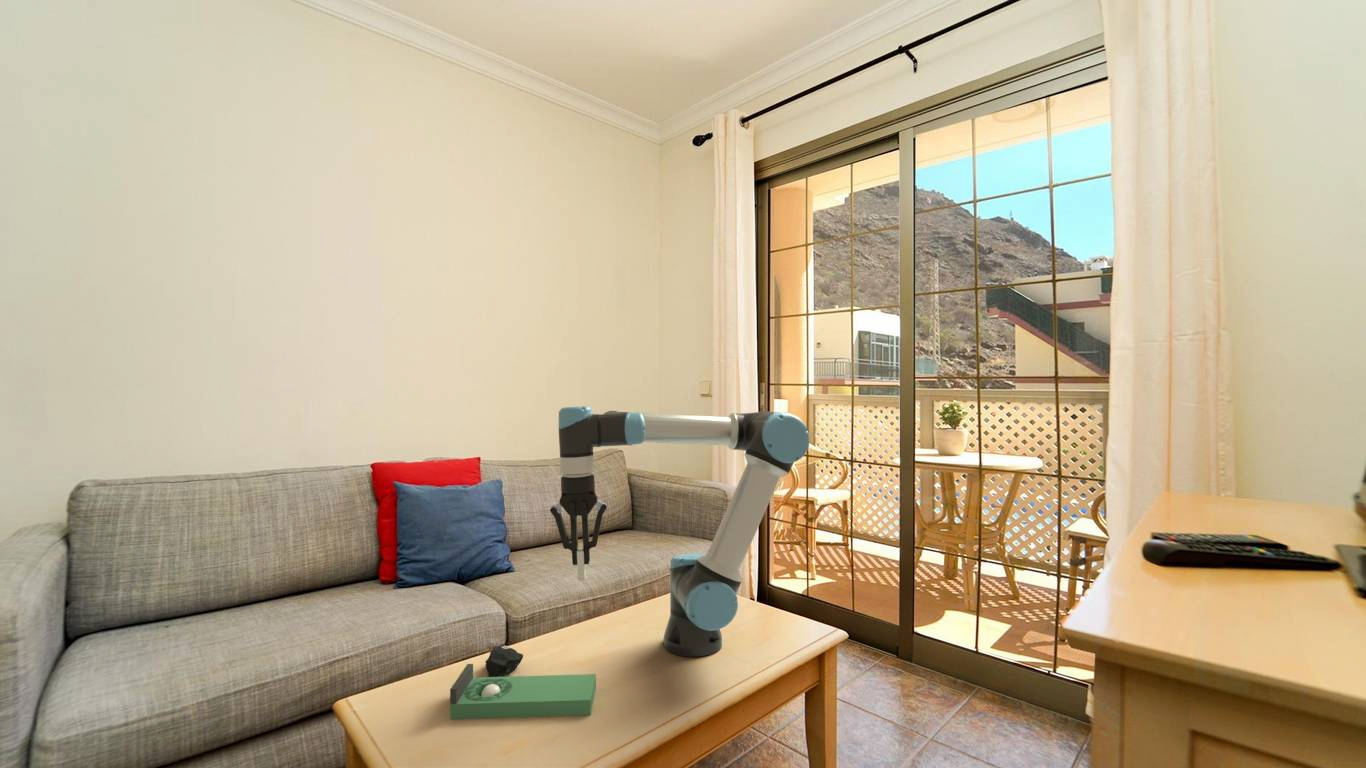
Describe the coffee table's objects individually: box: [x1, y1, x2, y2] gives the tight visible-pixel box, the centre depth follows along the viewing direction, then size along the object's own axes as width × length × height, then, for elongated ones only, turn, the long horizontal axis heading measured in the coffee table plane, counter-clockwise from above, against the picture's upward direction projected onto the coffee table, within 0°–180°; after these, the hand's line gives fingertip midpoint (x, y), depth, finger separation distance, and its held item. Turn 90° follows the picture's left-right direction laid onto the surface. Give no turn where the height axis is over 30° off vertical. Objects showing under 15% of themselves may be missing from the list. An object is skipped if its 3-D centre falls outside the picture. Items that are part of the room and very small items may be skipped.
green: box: [449, 663, 597, 720], centre depth 124 cm, size 28×11×6 cm, turn 93°
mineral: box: [485, 644, 524, 677], centre depth 137 cm, size 10×9×6 cm
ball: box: [481, 684, 501, 696], centre depth 123 cm, size 4×4×4 cm
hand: (581, 578), depth 133 cm, fingers closed
